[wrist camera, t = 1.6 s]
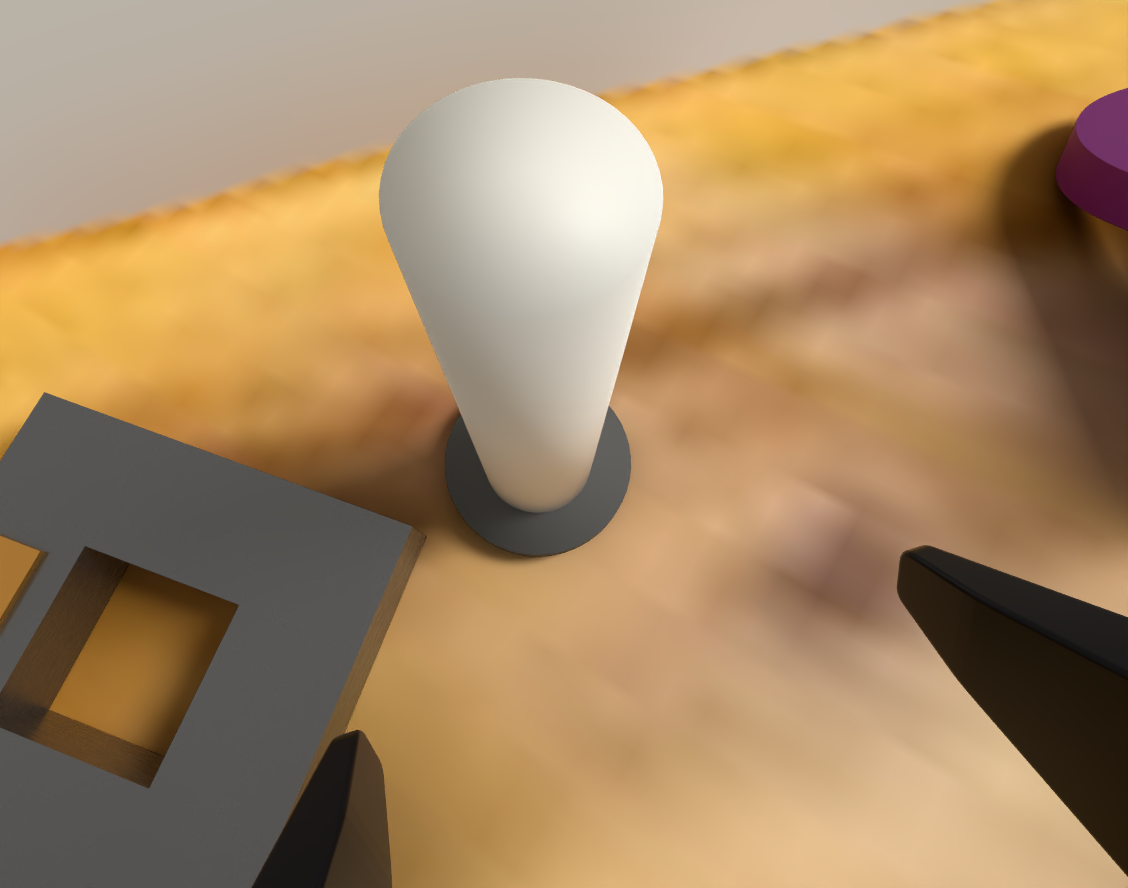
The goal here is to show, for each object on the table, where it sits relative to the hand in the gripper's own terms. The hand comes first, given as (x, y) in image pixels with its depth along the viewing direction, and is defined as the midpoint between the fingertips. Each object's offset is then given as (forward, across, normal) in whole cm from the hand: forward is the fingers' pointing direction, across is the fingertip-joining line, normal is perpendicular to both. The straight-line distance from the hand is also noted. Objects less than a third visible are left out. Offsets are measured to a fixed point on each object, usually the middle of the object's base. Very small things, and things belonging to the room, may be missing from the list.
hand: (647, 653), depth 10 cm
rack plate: (+12, +15, +6) cm, 20 cm away
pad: (+14, 0, +4) cm, 15 cm away
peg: (+13, 0, +4) cm, 14 cm away
